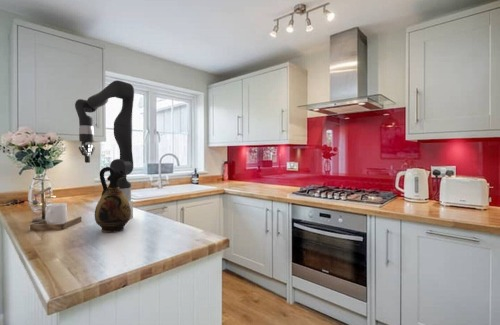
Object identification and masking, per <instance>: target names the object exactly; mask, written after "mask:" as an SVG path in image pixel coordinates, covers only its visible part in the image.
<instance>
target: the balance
mask: <svg viewBox="0 0 500 325" xmlns="http://www.w3.org/2000/svg"><path fill="white" fill-rule="evenodd" d="M51 190H52V187H50V186H49V187H47V188H45V189H42V190H40V191H38V192H36V193H34V194H33V196H34V198H35V199H34V200H33V199H32V203H30V204H28V207H39V206H41V216H39V217H36V218H33V219H32V220H31V221H32V222H33V223H37V222H40V221H43V220H45V216H46V212H47V211H46V199H55V198H57V195H47V196H46V192H48V191H49V194H51ZM38 196H40V199H41V202H40V200H39V199H37V197H38Z"/></svg>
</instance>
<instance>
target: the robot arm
mask: <svg viewBox="0 0 500 325" xmlns="http://www.w3.org/2000/svg"><path fill="white" fill-rule="evenodd" d="M112 98H116V99H120V100H122V104H121V108H120V111H119V113H118V115H116V117H115V119H114V121H113V135H114V136H113V137H114V139H115V141H116V144H117V146H118V149H119V158H115V159H113V160H112V161H111V162H110V165H109V167H111V168H113V169H114V170H115V172H116V171H117V170H118V171H121V170H122V171H123V172H124V173H125V174H126V175H127V176H128V175H130V174H132V172H133V170H134V159H133V158H134V157H133V155H134V154H133V107H134V100H135V99H134V98H135V88H134V86H133V85H132V84H131V83H130V82H126V81H125V82H124V81H122V80H114V81H111V82H110V83H109V84H108V85H107V86H105V87H104V88H103V89H102V90H101V91H99V92H97V93H96V94H93V95H91V96H89V97H88V98H87V99H82V98H79V99H77V100H76V101H75V103H74V108H75V111H76V114H77V117H78V121H79V122H78V123H79V125H78V126H79V127H78V138H79V139H78V140H79V142H81V146H79V147H78V150H79V152H80V154H81V155H82V156H83V157H84V163H86V164H87V163H91V156H93V154H94V152H95V150H96V149H95V148H96V147H95V146H93V142H94V143H95V130H94V119H93V117H92V116H90V115H88V114H87V113H89V114H90V113H91V114H92V113H95V112H96V111H97V110H98V109H99V108H100V107H103V106H105V105H106V104H107V103H108V102H109V99H112ZM110 174H111V172H110V171H109V175H110ZM117 183H118V187H119V188H120V190H121V191H122V192H123V194H124V195H125V196H126V198H127V200H128V202H129V205H130V209H131V216H130V219H132V218H133V217H134V207H133V206H134V204H133V203H134V202H133V199H132V184H131V182H130V181H129V180H127V177H125V178H122V179H120V180H119V181H118V182H117Z"/></svg>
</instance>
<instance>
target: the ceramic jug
mask: <svg viewBox="0 0 500 325" xmlns="http://www.w3.org/2000/svg"><path fill="white" fill-rule="evenodd" d="M106 172H109V175H108V177H107V179H106V178H105V173H106ZM110 172H111V174H110ZM125 177H126V178H127V177H128V175H126V174H125V173H124V172H123V171H122V170H121V171H118V170H117V171H116V172H115V170H114V169H113V168H111V167H110V166H105V167H103V168H101V170H100V171H99V181H100V183H101V186H102V189H103V190H102V192H101V194H100V195H101V197H100V198H99V200H98V202H97V204H96V206H95V209H94V220H95V221H94V222H95V223H96V225H98V226H99V227H100V228H101V231H102V232H103V233H110V234H111V233H117V232H122V231H124V229H125V226H126V225H127V223H129V221H130V220H131V218H130V216H131V209H130V205H129V202H128V200H127V198H126V196H125V195H124V194H123V192H122V191H121V190H120V188H119V187H118V183H117V182H118V181H119V180H120V179H122V178H125ZM106 181H109V184H108V185H107V182H106Z"/></svg>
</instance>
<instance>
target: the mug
mask: <svg viewBox="0 0 500 325" xmlns="http://www.w3.org/2000/svg"><path fill="white" fill-rule="evenodd" d="M67 206H68V204H67V203H66V202H56V203H49V204H47V205H46V211H45V212H46V216H45V219H46V222H47V224H63V223H65V222H68V208H67Z"/></svg>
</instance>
